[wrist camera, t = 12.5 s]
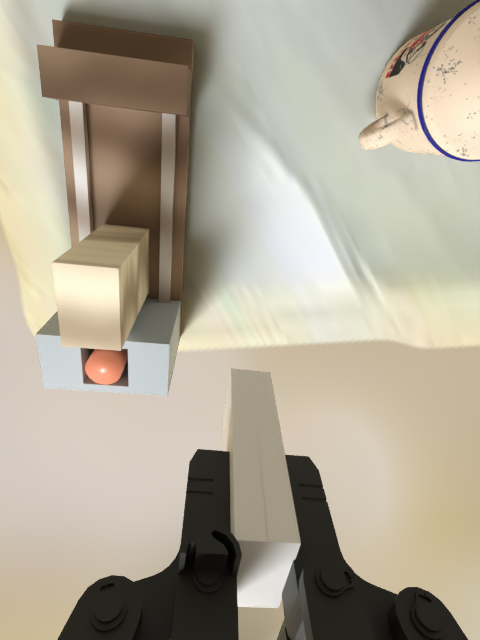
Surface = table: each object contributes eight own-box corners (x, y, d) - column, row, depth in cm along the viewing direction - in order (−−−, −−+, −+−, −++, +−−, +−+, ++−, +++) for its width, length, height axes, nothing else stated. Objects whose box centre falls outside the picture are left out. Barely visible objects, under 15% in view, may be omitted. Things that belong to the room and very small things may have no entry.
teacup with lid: (467, 1, 28) (608, -76, 18) (490, 120, 32) (619, 114, 22) (321, 88, 31) (372, 64, 20) (359, 190, 34) (419, 215, 24)
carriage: (103, 224, 33) (52, 262, 23) (149, 228, 33) (118, 268, 23) (106, 287, 36) (61, 346, 26) (149, 291, 36) (121, 350, 26)
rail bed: (60, 24, 28) (33, 6, 24) (194, 44, 29) (189, 30, 25) (84, 330, 39) (68, 352, 35) (180, 337, 40) (175, 360, 36)
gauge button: (99, 329, 32) (83, 353, 29) (132, 331, 32) (121, 356, 29) (100, 356, 33) (86, 383, 30) (132, 359, 34) (122, 385, 30)
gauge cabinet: (78, 285, 37) (33, 333, 28) (182, 295, 38) (169, 344, 29) (82, 330, 39) (41, 387, 30) (180, 337, 40) (167, 396, 31)
